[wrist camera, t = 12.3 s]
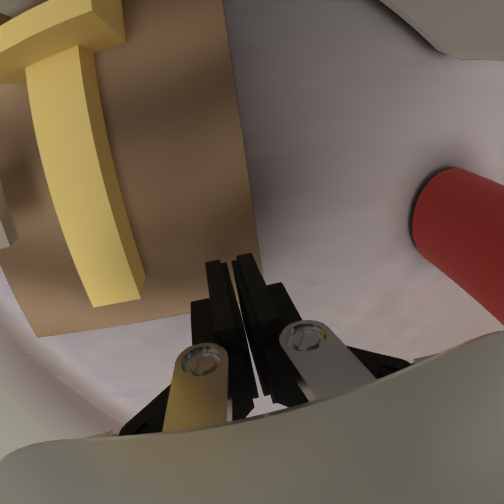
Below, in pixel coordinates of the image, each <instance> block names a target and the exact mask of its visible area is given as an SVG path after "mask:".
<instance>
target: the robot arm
mask: <svg viewBox="0 0 504 504" xmlns="http://www.w3.org/2000/svg"><path fill="white" fill-rule="evenodd" d="M236 258H237V260H233V261H231V262H232V268H233V273H234V278H235V283H236V288H237V293H238V298H239V304H240V309H241V313H240V310H239V306H238V302H237V299H236V295H235V291H234V288H233V284H232V280H231V276H230V273H229V269H228V265H227V262H224V263H221V262H220V259H218V260H214V261H209V262H205V267H206V275H207V283H208V290H209V298H206V299H201V300H196V301H191V303H190V307H191V330H192V346H191V347H188V348H187V349H185V350H184V351H182V353H181V354H180V355H179V356H178V358H177V360H176V362H175V367H174V372H173V377H172V382H171V384H170V385H169V386H168V387H167V388H166V389H165V390H164V391H162V392H161V393H160V394H159V395H158V396H157V397H156V398H155V399H154V400H152V401H151V402H150V403H149V404H148V405H147V406H146V407H145V408H143V409H142V410H141V411H140V412H139V413H138V414H137V415H135V416H134V417H133V418H132V419H131V420H130V421H129V422H127V423H126V424H125V425H124V427H123V428H122V429H121V431H120V433H117V434H114V432H113V431H110V432H106V433H102V434H98V435H94V436H90V437H86V438H79V439H62V440H53V441H46V442H41V443H36V444H31V445H28V446H25V447H22V448H19V449H17V450H15V451H13V452H11V453H9V454H8V455H6V456H5V457H4V458H3V459H2V460H1V461H0V504H504V331H498V332H493V333H490V334H486V335H482V336H480V337H477V338H474V339H472V340H469V341H466V342H464V343H462V344H460V345H458V346H455V347H453V348H451V349H448V350H446V351H444V352H442V353H439V354H434V355H430V356H425V357H421V358H416V359H414V360H413V363H409V362H407V361H405V360H402V359H399V358H395V357H390V356H386V355H382V354H378V353H373V352H369V351H365V350H361V349H357V348H353V347H349V346H346V345H345V344H344V343H343V342H342V341H341V340H340V339H339V338H338V337H337V336H336V335H335V334H334V333H333V331H332V330H331V329H330V328H329V327H328V326H326V325H325V324H323V323H321V322H318V321H313V320H302V319H301V317H300V315H299V313H298V311H297V309H296V308H295V306H294V304H293V302H292V300H291V298H290V297H289V295H288V293H287V291H286V289H285V287H284V286H283V284H282V283H281V282H279V283H275V284H270V285H266V284H265V281H264V279H263V277H262V275H261V272H260V270H259V268H258V266H257V264H256V261H255V259H254V257H253V255H252V253H247V254H242V255H238V256H236ZM241 314H242V317H241ZM242 319H243V321H242ZM243 323H244V325H243ZM244 328H245V329H244ZM245 331H246V333H245ZM246 335H247V338H246ZM247 339H248V342H249V346H250V349H251V353H252V356H253V360H254V363H255V367H256V370H257V374H258V377H259V381H260V384H261V387H262V391H263V394H264V396H267V395H271V399H272V402H273V404H274V403H279V404H282V405H284V406H287V408H286V409H282V410H278V411H274V412H270V413H266V414H262V415H257V416H253V417H248V418H245V417H246V416H247V415H248V414H249V413H250V412H251V410H252V409H253V408H254V403H253V399H254V398H258V397H259V396H258V391H257V386H256V381H255V377H254V372H253V367H252V362H251V358H250V353H249V348H248V343H247Z"/></svg>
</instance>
